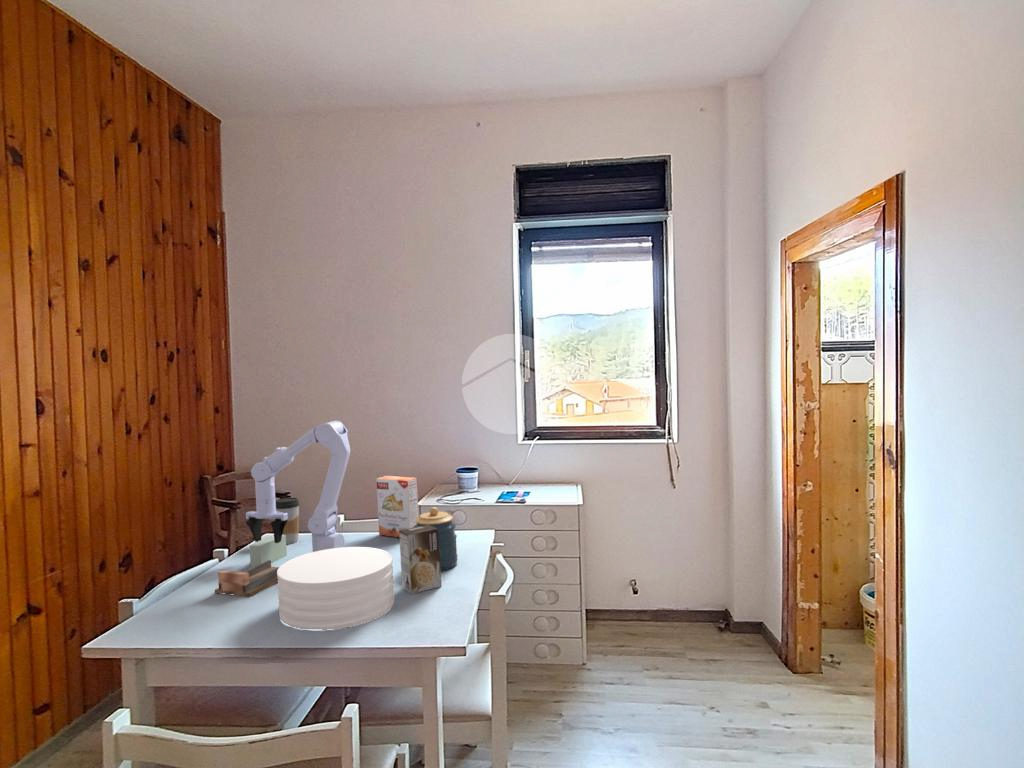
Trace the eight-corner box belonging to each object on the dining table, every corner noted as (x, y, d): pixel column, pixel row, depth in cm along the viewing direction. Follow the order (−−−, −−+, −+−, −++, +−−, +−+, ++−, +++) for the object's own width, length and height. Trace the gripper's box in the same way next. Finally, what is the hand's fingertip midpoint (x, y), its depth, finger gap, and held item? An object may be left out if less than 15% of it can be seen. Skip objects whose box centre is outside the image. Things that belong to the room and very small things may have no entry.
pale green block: (286, 556, 203) (285, 535, 203) (261, 568, 192) (260, 546, 191) (276, 555, 204) (275, 534, 204) (250, 567, 193) (249, 545, 193)
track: (297, 572, 186) (296, 552, 186) (250, 596, 167) (249, 574, 167) (264, 569, 190) (263, 550, 190) (214, 593, 171) (213, 571, 171)
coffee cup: (296, 545, 215) (294, 502, 215) (272, 545, 215) (270, 502, 215) (304, 538, 223) (302, 496, 223) (281, 538, 224) (279, 497, 223)
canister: (407, 571, 183) (404, 512, 182) (424, 557, 195) (421, 501, 195) (449, 573, 180) (446, 512, 179) (463, 559, 192) (461, 502, 192)
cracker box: (378, 536, 222) (375, 478, 221) (389, 531, 227) (386, 475, 227) (409, 540, 216) (407, 480, 215) (420, 535, 221) (417, 476, 220)
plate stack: (279, 598, 166) (276, 556, 165) (384, 581, 176) (382, 541, 175) (279, 641, 140) (276, 590, 139) (403, 618, 149) (401, 571, 149)
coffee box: (431, 580, 174) (429, 523, 174) (442, 586, 169) (439, 528, 168) (401, 588, 169) (398, 529, 169) (411, 595, 164) (408, 534, 163)
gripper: (238, 501, 196) (240, 544, 196) (276, 502, 191) (278, 546, 192) (253, 496, 202) (255, 537, 203) (291, 497, 198) (293, 540, 198)
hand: (267, 541), depth 198 cm, fingers open, 7 cm apart
